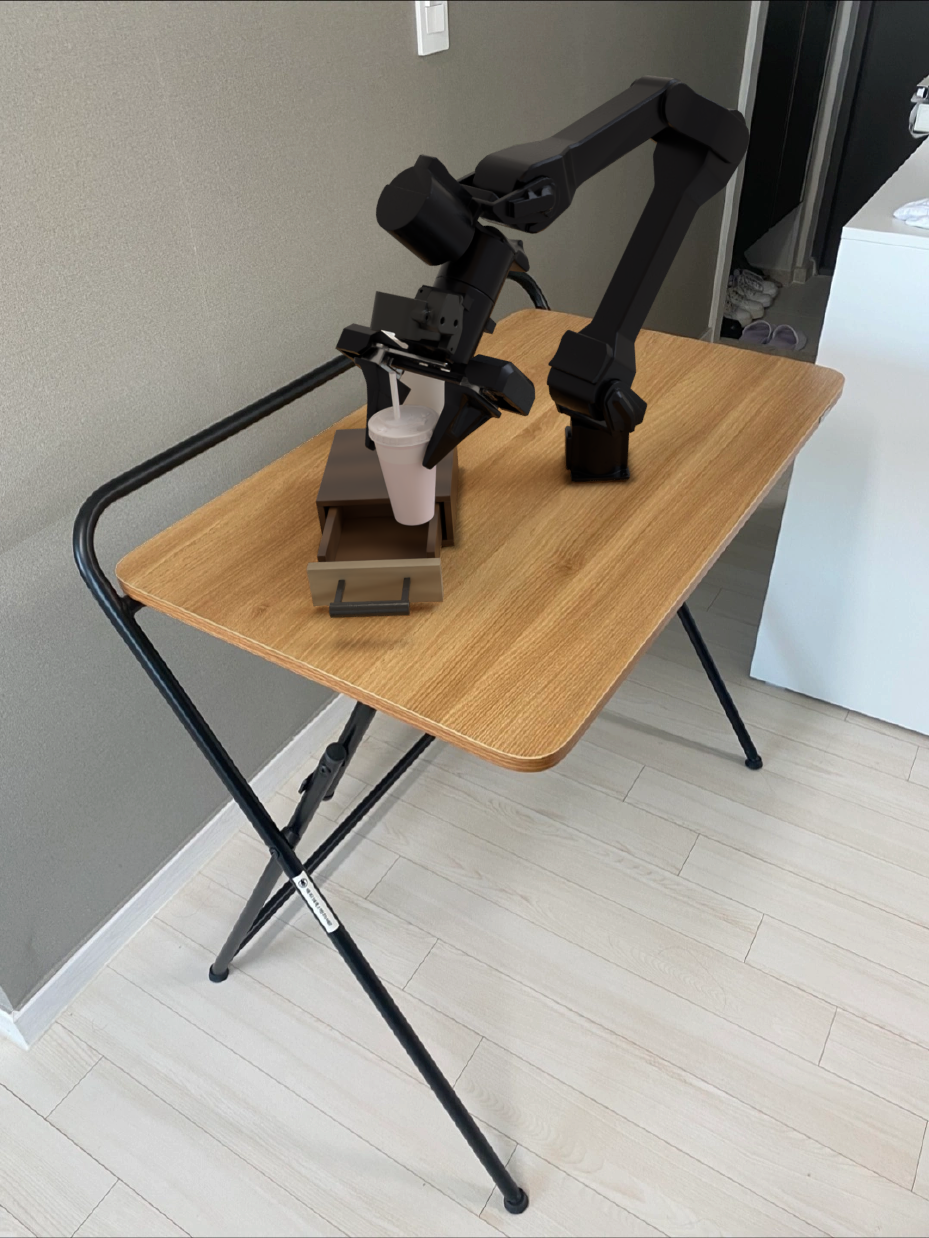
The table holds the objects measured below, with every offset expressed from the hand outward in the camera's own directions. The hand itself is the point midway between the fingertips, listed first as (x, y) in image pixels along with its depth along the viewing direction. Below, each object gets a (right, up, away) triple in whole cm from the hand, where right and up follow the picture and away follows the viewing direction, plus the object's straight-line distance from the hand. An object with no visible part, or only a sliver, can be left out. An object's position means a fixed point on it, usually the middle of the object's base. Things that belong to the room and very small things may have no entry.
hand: (396, 458), depth 85 cm
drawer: (-2, -10, +8) cm, 13 cm away
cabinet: (-2, -2, +20) cm, 20 cm away
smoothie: (+1, -5, +5) cm, 7 cm away
